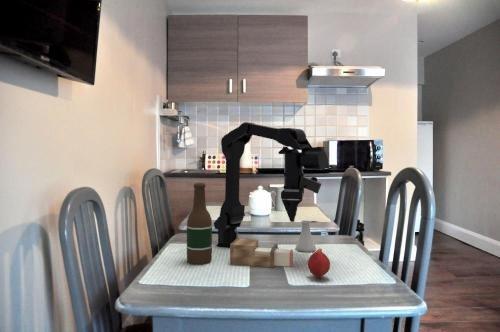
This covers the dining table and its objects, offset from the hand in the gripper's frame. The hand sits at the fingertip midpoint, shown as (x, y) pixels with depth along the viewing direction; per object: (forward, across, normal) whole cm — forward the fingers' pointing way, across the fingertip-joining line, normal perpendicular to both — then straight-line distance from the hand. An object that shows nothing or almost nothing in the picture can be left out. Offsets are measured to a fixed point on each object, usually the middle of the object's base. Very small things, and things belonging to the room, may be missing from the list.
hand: (293, 219), depth 112 cm
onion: (+13, -15, -8) cm, 22 cm away
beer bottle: (+13, -7, +28) cm, 32 cm away
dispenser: (+13, -5, +11) cm, 17 cm away
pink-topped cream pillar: (+13, -5, +7) cm, 15 cm away
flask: (+13, +13, -4) cm, 19 cm away
